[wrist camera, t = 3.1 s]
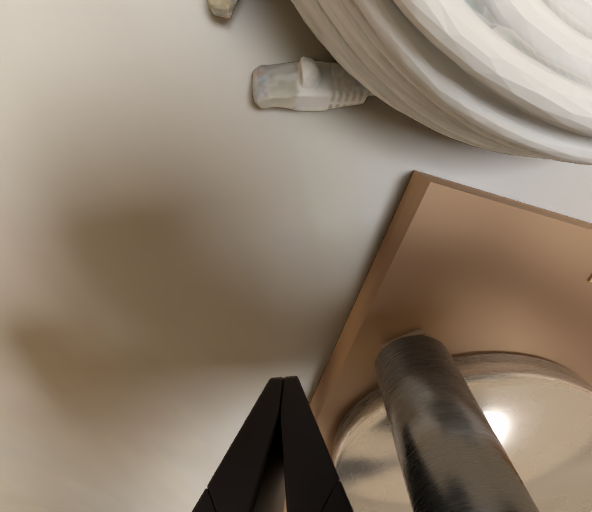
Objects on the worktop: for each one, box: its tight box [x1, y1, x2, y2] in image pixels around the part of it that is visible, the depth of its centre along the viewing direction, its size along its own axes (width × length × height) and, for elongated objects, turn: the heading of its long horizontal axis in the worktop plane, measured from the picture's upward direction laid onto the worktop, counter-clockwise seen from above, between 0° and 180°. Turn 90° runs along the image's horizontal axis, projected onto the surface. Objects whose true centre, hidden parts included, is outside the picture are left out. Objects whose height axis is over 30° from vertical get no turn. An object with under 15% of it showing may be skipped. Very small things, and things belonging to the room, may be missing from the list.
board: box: [284, 170, 592, 512], centre depth 16 cm, size 22×14×2 cm, turn 164°
